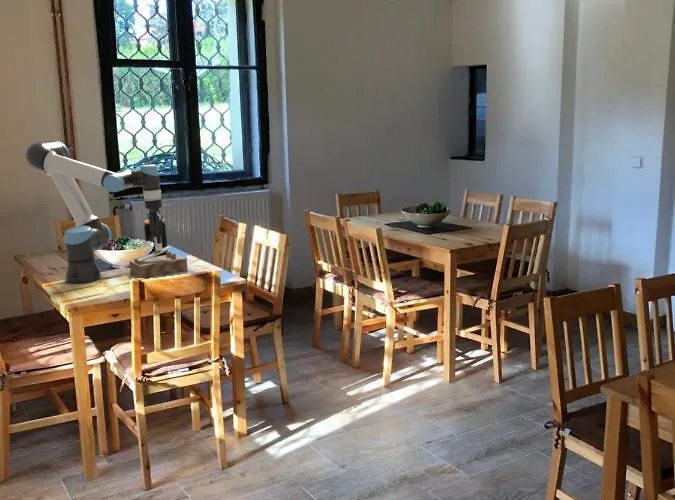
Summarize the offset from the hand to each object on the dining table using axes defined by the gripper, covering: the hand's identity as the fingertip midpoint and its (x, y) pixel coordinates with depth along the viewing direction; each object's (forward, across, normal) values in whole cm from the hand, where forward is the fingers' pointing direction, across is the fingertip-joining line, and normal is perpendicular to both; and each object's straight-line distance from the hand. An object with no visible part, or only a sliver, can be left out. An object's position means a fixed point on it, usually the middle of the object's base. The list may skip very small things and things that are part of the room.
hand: (159, 250), depth 327 cm
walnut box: (+11, 0, +1) cm, 11 cm away
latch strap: (+2, 0, +2) cm, 3 cm away
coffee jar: (+11, +37, -13) cm, 41 cm away
